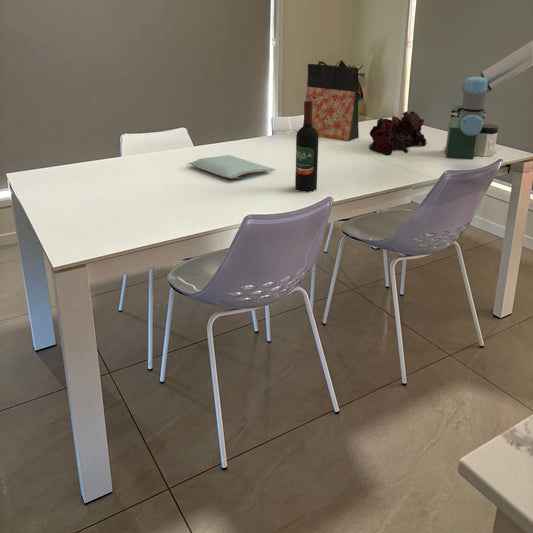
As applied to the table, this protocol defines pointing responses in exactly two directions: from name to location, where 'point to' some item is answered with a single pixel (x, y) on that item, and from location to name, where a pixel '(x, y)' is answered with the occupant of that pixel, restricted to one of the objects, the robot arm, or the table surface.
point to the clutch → (228, 166)
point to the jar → (486, 140)
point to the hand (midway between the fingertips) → (465, 107)
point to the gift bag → (334, 100)
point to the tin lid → (455, 119)
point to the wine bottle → (306, 153)
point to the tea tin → (459, 144)
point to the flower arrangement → (397, 134)
